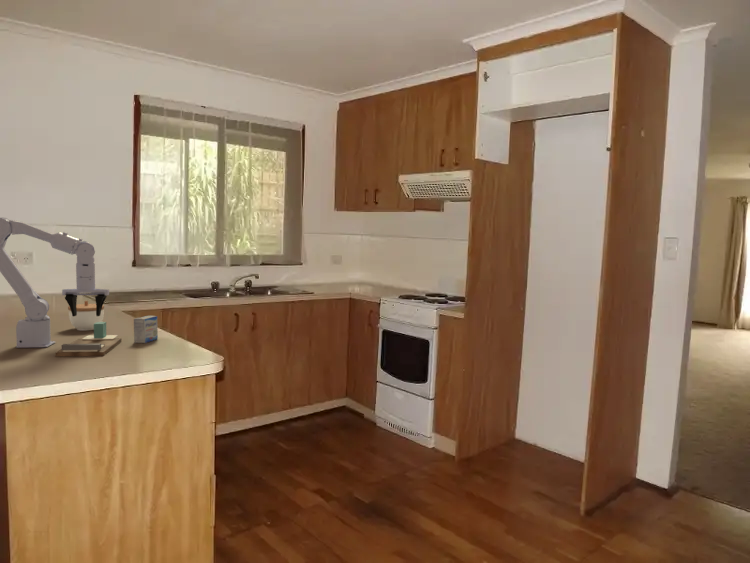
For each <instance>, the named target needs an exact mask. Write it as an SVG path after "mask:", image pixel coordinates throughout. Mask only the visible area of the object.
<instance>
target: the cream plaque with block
mask: <svg viewBox="0 0 750 563" xmlns="http://www.w3.org/2000/svg"><path fill="white" fill-rule="evenodd" d="M118 337H119V335H118V334H114V335H113V334H107V321H102V322H96V323H95V324H94V330H93V334H90V335H86V336H84V337H82V338H81V339H82V340H113V339H115V338H118Z"/></svg>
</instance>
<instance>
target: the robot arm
mask: <svg viewBox="0 0 750 563" xmlns="http://www.w3.org/2000/svg"><path fill="white" fill-rule="evenodd" d="M68 234H69V233H68V232H65V231H63V232H61V231H60V232H56V233H52V232H49V231H46V230H44V229H41V228H39V227H36V226H34V225H31V224H28V223H26V222H23V221H19V220H18V221H17V220H15V219H8V218H7V217H0V273H1V275H2V276H3V277H4V279H5V280H6V281H7V282H8V285H9V286H10V287H11V288H12V289H13V291H14V292H15V294H16V295H17V296H18V298H19V301H20V302H21V304H22V306H23V307H24V312H25V315H26V317H25V318H24V319H19V320H18V321H17V323H16V328H15V331H16V332H15V333H16V336H15V337H16V346H15V348H19V349H20V348H48V347H50V346H51V345H54V344H55V343H56V341H54V340H52V336H51V333H52V332H51V317H50V316H49V315H48V312H49V310H50V304H49V302H48V301H47V300H46V299H45V298H43V297H42V296H40V295H39V293H37V291H35V289H34V288H33V287H32V285H31V284H30V282H29V281H28V280H27V279H26V278H25V275H24V274H23V273H22V272H21V270H20V269H19V268H18V266H17V265H16V264H15V262H14V261H13V260H12V258H11V256H10V255H9V254H8V252H7V251H6V250H5V247H6V243H7V240H8V239H9V237H10V236H11V235H25V236H29V237H32V238H35V239H38V240H41V241H44V242H47V243H49V244H50V246H51V247H52V249H54V250H58V251H61V252H64V253H67V254H69V255H72V256H73V255H76V264H75V272H76V274H75V276H76V280H75V281H76V282H75V283H76V288H63V289H62V290H61V292H62V293H61V294H62V296H64V299H65V301H66V303H67V304H68V306H70V309H71V312H72V316H76V315H77V308H76V305H77V299H78V296H95V297H94V299H95V304H96V316H100V314H101V309H102V306H103V305H104V304H105V301H106V299H107V296H110V289H108V288H107V289H106V288H104V289H103V288H96V268H95V267H96V266H95V265H96V263H94V262H95V257H94V256H95V253H96V250H95V247H94V245H93V244H92V243H90V242H89V241H85V240H84V241H83V238H80V237H79V238H77V237H74V236H71V235H68Z"/></svg>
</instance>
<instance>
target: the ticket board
mask: <svg viewBox="0 0 750 563" xmlns="http://www.w3.org/2000/svg"><path fill="white" fill-rule="evenodd" d="M82 339H83V338H77V339H75V341H72V342H71V343H70V344H105V346H104V347H103V348H101V349H100V350H99V351H95V352H63V350H62V348H60V349H59V350H58V351H55V353H54V355H55V357H104V356H105V355H107V354H108V353H109V352H110V351H112V350H113V349H114V348H115V347H116V346H118V345H119V344H120V343H122V337H121V338H118V337H116V338H115V339H113V340H82Z"/></svg>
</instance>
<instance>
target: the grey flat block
mask: <svg viewBox="0 0 750 563" xmlns="http://www.w3.org/2000/svg"><path fill="white" fill-rule="evenodd" d="M104 346H105V344H71V343H63V344H62V345H61V349H62V350H63V352H95V351H99V350H100V349H101V348H103V347H104Z"/></svg>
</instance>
